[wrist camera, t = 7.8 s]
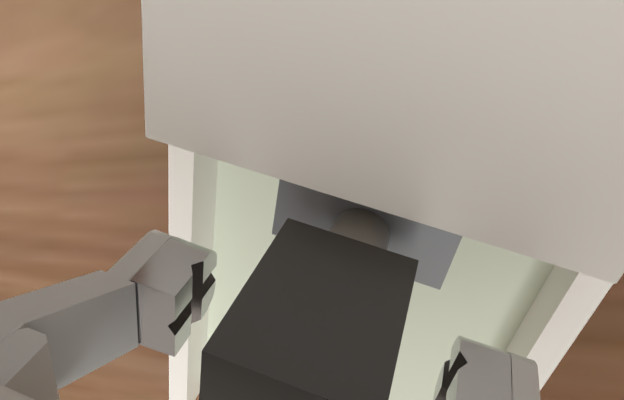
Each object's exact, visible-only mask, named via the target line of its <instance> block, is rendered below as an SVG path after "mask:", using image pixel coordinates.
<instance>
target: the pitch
mask: <svg viewBox="0 0 624 400" xmlns="http://www.w3.org/2000/svg"><path fill="white" fill-rule="evenodd" d="M141 11H142V42H143V74H144V105H145V136H146V138H149V139H152V140H156V141H159V142H162V143H165V144H168V198H169V235H171V236H174V237H178V238H181V239H183V240H186V241H189V242H191V243H194V244H197V245H199V246H202V247H205V248H208V249H210V250H213V251H215V252H216V253H217V266H216V267H215V268H214V270H213V271H212V272H211V273H212V275H213V276H214V278H215V280H216V283H215V290H214V295H213V298H212V301H211V303H210V305H209V307H208V310H207V311H206V313H205V314H204V316H203V317H202V319H201V320H199V321H197V322H194V323H192V324H191V335H190V336H189V337H188V339H187V340H186V342H185V343H184V345H183V346H182V347H181V349H180V350H179V352H178V353H177V354H176V356H175V357H173V356H171V355H169V400H195V399H196V397H197V396H198V394H199V392H200V374H201V355H202V350H203V348H204V347H205V345H206V343H207V342H208V340H209V339H210V337H211V336H212V334H213V333H214V331H215V330H216V328H217V326H218V325H219V323H220V322H221V320H222V319H223V317H224V316H225V314H226V313H227V311H228V309H229V308H230V306H231V305H232V303H233V302H234V300H235V299H236V297H237V296H238V294H239V292H240V291H241V289H242V288H243V286H244V285H245V283H246V282H247V280H248V279H249V277H250V275H251V274H252V272H253V271H254V269H255V268H256V266H257V265H258V263H259V262H260V260H261V258H262V257H263V255H264V254H265V252H266V251H267V249H268V248H269V246H270V245H271V243H272V241H273V240H274V238H275V237H276V235H274V234H272V228H273V221H274V214H275V207H276V200H277V194H278V187H279V180H280V179H281V180H284V181H287V182H290V183H293V184H297V185H300V186H303V187H306V188H309V189H313V190H316V191H319V192H322V193H325V194H329V195H332V196H335V197H338V198H341V199H345V200H348V201H351V202H354V203H358V204H361V205H364V206H367V207H370V208H374V209H377V210H380V211H383V212H386V213H390V214H393V215H396V216H399V217H402V218H406V219H409V220H412V221H415V222H418V223H422V224H425V225H428V226H431V227H434V228H438V229H441V230H444V231H447V232H450V233H454V234H457V235H460V236H462V239H461V241H460V244H459V246H458V248H457V251H456V253H455V255H454V258H453V260H452V263H451V265H450V267H449V270H448V272H447V275H446V277H445V279H444V282H443V284H442V286H441V289H440V290H439V289H436V288H433V287H430V286H427V285H424V284H421V283H418V282H415V281H414V285H413V289H412V294H411V299H410V303H409V308H408V312H407V317H406V321H405V326H404V331H403V335H402V340H401V344H400V349H399V354H398V358H397V363H396V367H395V372H394V377H393V381H392V386H391V390H390V395H389V399H388V400H433V397H434V392H435V387H436V383H437V380H438V377H439V374H440V371H441V369H442V367H443V364H444V362H445V361H448V360H450V356H451V348H452V346H453V344H454V342H455V340H456V338H457V337H458V336H462V337H465V338H468V339H471V340H474V341H477V342H480V343H483V344H486V345H489V346H492V347H495V348H498V349H501V350H504V351H507V352H511V353H514V354H517V355H520V356H523V357H526V358H529V359H532V360H535V362H536V364H537V365H538V376H539V387H540V390H541V389H542V387H543V386H544V384H545V383H546V381H547V380H548V378H549V377H550V375H551V374H552V372H553V371H554V370H555V368H556V367H557V365H558V364H559V362H560V361H561V359H562V358H563V356H564V355H565V353H566V352H567V351H568V349H569V348H570V346H571V345H572V343H573V342H574V340H575V339H576V337H577V336H578V334H579V333H580V332H581V330H582V329H583V327H584V326H585V324H586V323H587V321H588V320H589V318H590V317H591V315H592V314H593V312H594V311H595V310H596V308H597V307H598V305H599V304H600V302H601V301H602V299H603V298H604V296H605V295H606V293H607V292H608V291H609V289H610V288H611V286H612V285H613V283H614V284H616V283H617V282H618V280H619V279H620V277H621V276H622V275H623V273H624V0H141Z"/></svg>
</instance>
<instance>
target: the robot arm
mask: <svg viewBox="0 0 624 400" xmlns="http://www.w3.org/2000/svg"><path fill="white" fill-rule="evenodd" d="M216 266H217V253H216V252H215V251H213V250H210V249H208V248H205V247H202V246H199V245H197V244H194V243H191V242H189V241H186V240H183V239H181V238H178V237H174V236H171V235H169V234H166V233H163V232H161V231H158V230H152V231H149V232H148V233H147V234H145V235H144V236H143V237H142V238H141V239H140V240H139V241H138V242H137V243H136V244H135V245H134V246H133V247H132V248H131V249H130V250H129V251H128V252H127V253H126V254H125V255H124V256H123V257H122V258H121V259H120V260H118V261H117V262H116V263H115V264H114V265H113V266H112V267H111V268H110V269H109V270H108V271H107V272H104V271H101V270H99V271H96V272H93V273H90V274H87V275H83V276H80V277H77V278H74V279H71V280H67V281H64V282H61V283H58V284H55V285H51V286H48V287H45V288H42V289H39V290H36V291H32V292H29V293H26V294H23V295H20V296H16V297H13V298H10V299H7V300H4V301H0V400H60V397H59V393H58V390H59V389H60V388H62V387H64V386H66V385H68V384H70V383H72V382H73V381H75V380H77V379H79V378H81V377H83V376H85V375H86V374H88V373H90V372H92V371H94V370H96V369H97V368H99V367H101V366H103V365H105V364H107V363H109V362H110V361H112V360H114V359H116V358H118V357H120V356H122V355H123V354H125V353H127V352H129V351H131V350H133V349H135V348H136V347H138V344H140V345H143V346H145V347H148V348H151V349H154V350H157V351H159V352H162V353H165V354H168V355H171V356H173V357H175V356H176V354H177V353H178V352H179V350H180V349H181V347H182V346H183V345H184V343H185V342H186V340H187V339H188V337H189V336H190V335H191V324H192V323H194V322H197V321H199V320H201V319H202V317H203V316H204V314H205V313H206V311H207V310H208V307H209V305H210V303H211V301H212V298H213V295H214V290H215V283H216V280H215V278H214V276H213V275H212V273H211V272H212V271H213V270H214V268H215V267H216ZM433 400H541V398H540V387H539V376H538V365H537V364H536V362H535V360H532V359H529V358H526V357H523V356H520V355H517V354H514V353H511V352H507V351H504V350H501V349H498V348H495V347H492V346H489V345H486V344H483V343H480V342H477V341H474V340H471V339H468V338H465V337H462V336H458V337H457V338H456V340H455V342H454V344H453V346H452V348H451V356H450V360H448V361H445V362H444V364H443V367H442V369H441V371H440V374H439V377H438V380H437V383H436V387H435V392H434V397H433Z"/></svg>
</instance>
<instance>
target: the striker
mask: <svg viewBox="0 0 624 400" xmlns="http://www.w3.org/2000/svg"><path fill="white" fill-rule="evenodd" d="M272 234H274V235H276V237H275V238H274V240H273V241H272V243H271V245H270V246H269V248H268V249H267V251H266V252H265V254H264V255H263V257H262V258H261V260H260V262H259V263H258V265H257V266H256V268H255V269H254V271H253V272H252V274H251V275H250V277H249V279H248V280H247V282H246V283H245V285H244V286H243V288H242V289H241V291H240V292H239V294H238V296H237V297H236V299H235V300H234V302H233V303H232V305H231V306H230V308H229V309H228V311H227V313H226V314H225V316H224V317H223V319H222V320H221V322H220V323H219V325H218V326H217V328H216V330H215V331H214V333H213V334H212V336H211V337H210V339H209V340H208V342H207V343H206V345H205V347H204V348H203V350H202V355H201V374H200V393H199V400H388V399H389V395H390V390H391V386H392V381H393V377H394V372H395V367H396V363H397V358H398V354H399V349H400V344H401V340H402V335H403V331H404V326H405V321H406V317H407V312H408V308H409V303H410V299H411V294H412V289H413V285H414V281H415V282H418V283H421V284H424V285H427V286H430V287H433V288H436V289H439V290H440V289H441V286H442V284H443V282H444V279H445V277H446V275H447V272H448V270H449V267H450V265H451V263H452V260H453V258H454V255H455V253H456V251H457V248H458V246H459V244H460V241H461V239H462V236H460V235H457V234H454V233H450V232H447V231H444V230H441V229H438V228H434V227H431V226H428V225H425V224H422V223H418V222H415V221H412V220H409V219H406V218H402V217H399V216H396V215H393V214H390V213H386V212H383V211H380V210H377V209H374V208H370V207H367V206H364V205H361V204H358V203H354V202H351V201H348V200H345V199H341V198H338V197H335V196H332V195H329V194H325V193H322V192H319V191H316V190H313V189H309V188H306V187H303V186H300V185H297V184H293V183H290V182H287V181H284V180H281V179H280V180H279V187H278V194H277V200H276V207H275V214H274V221H273V228H272Z"/></svg>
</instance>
